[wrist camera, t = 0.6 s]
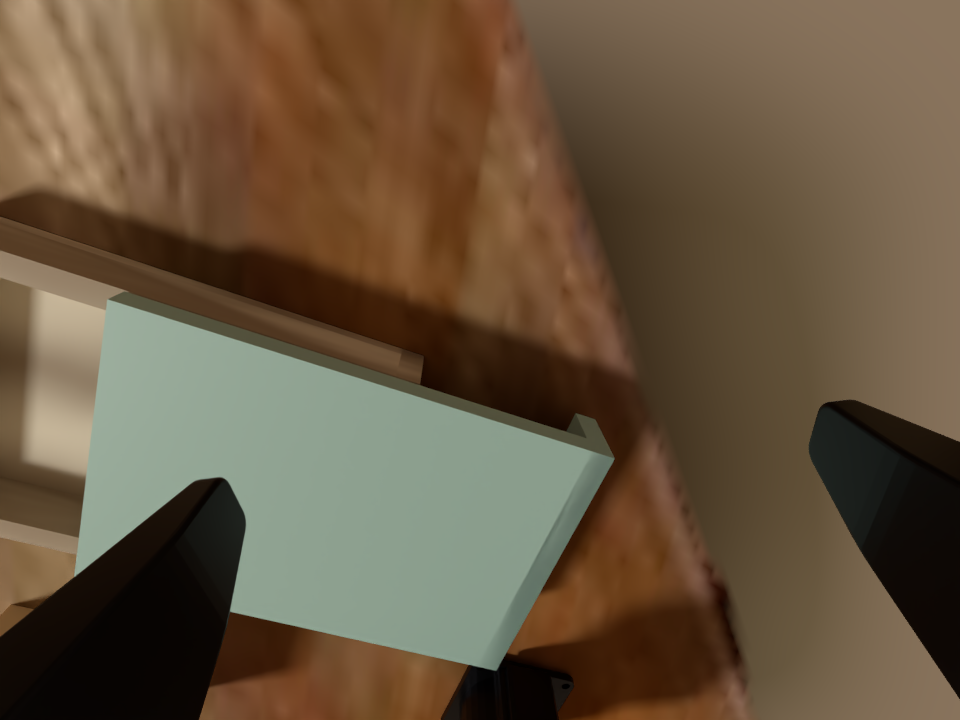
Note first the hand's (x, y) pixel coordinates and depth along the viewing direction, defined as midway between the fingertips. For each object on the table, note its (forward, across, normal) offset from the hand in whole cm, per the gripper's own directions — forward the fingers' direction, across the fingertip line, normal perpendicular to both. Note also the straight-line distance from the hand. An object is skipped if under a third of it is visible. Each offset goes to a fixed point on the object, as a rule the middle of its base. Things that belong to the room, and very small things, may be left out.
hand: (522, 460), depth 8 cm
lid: (+13, +7, +11) cm, 18 cm away
